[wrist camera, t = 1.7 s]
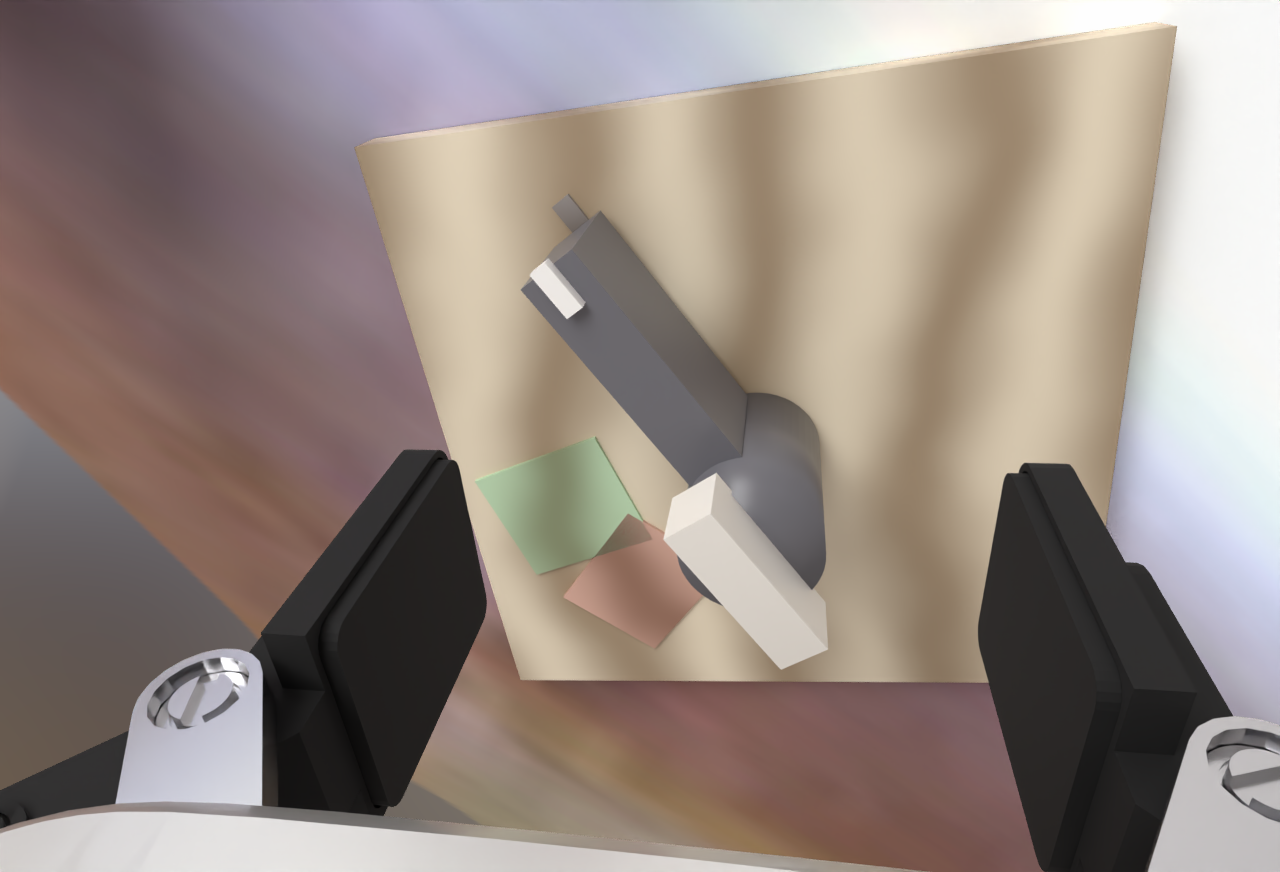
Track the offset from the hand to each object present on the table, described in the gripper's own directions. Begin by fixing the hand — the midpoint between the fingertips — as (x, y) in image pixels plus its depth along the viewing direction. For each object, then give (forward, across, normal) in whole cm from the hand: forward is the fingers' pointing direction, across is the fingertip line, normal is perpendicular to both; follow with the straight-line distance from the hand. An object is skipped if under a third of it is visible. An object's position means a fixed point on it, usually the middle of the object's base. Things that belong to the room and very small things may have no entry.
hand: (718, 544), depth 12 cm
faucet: (+16, +2, +5) cm, 17 cm away
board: (+18, 0, +8) cm, 20 cm away
